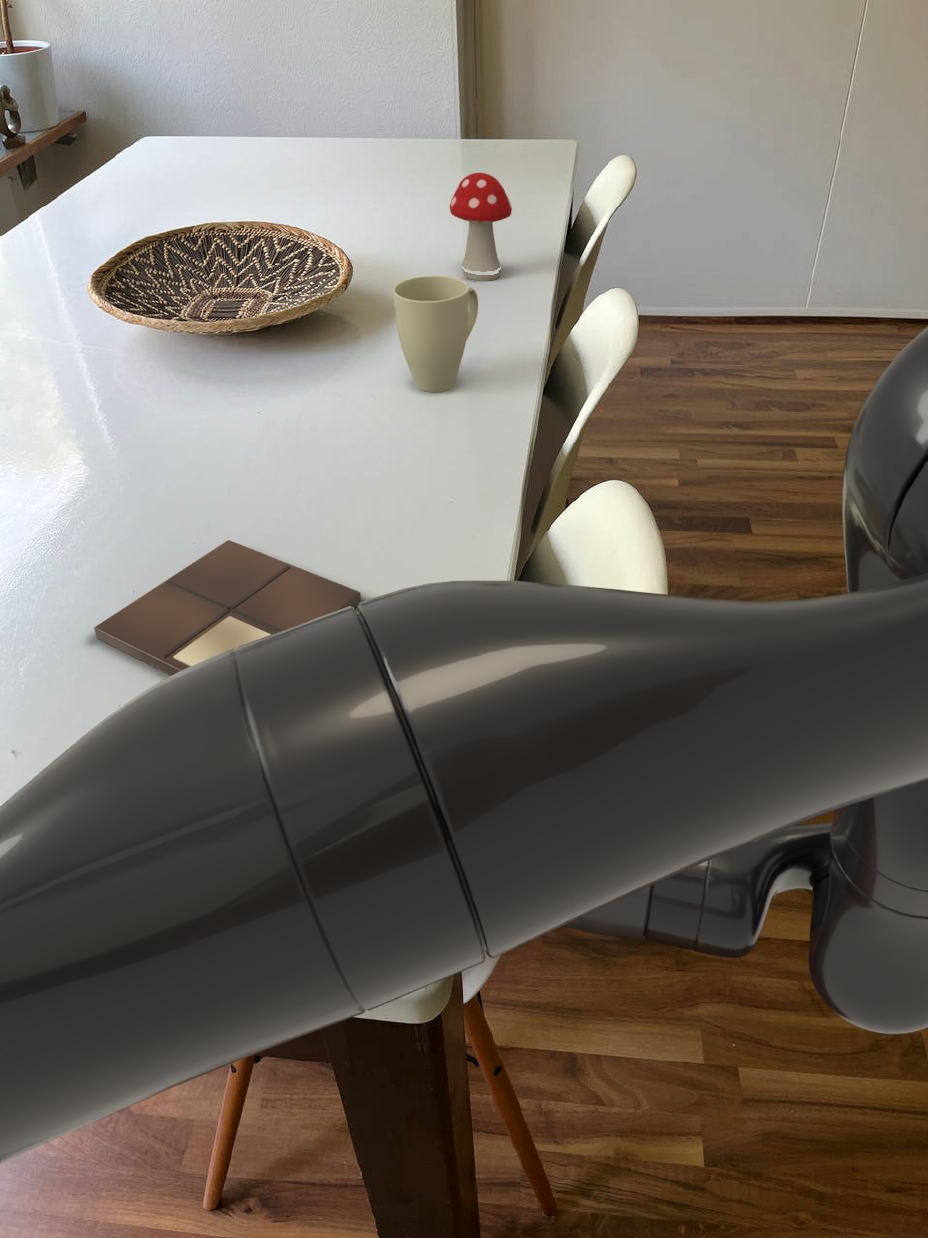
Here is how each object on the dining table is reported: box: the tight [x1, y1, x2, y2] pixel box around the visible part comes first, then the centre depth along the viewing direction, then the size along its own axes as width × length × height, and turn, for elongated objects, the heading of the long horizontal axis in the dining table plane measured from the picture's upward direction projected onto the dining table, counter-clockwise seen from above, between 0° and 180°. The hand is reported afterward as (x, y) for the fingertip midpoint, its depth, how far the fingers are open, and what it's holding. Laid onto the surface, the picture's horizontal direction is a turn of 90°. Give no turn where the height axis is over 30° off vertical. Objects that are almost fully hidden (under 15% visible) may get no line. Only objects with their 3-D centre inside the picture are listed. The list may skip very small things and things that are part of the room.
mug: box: [392, 275, 479, 393], centre depth 120 cm, size 11×10×12 cm
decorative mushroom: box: [449, 172, 513, 282], centre depth 150 cm, size 10×9×15 cm
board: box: [93, 539, 362, 676], centre depth 85 cm, size 16×16×1 cm
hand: (306, 802), depth 59 cm, fingers open, 8 cm apart
